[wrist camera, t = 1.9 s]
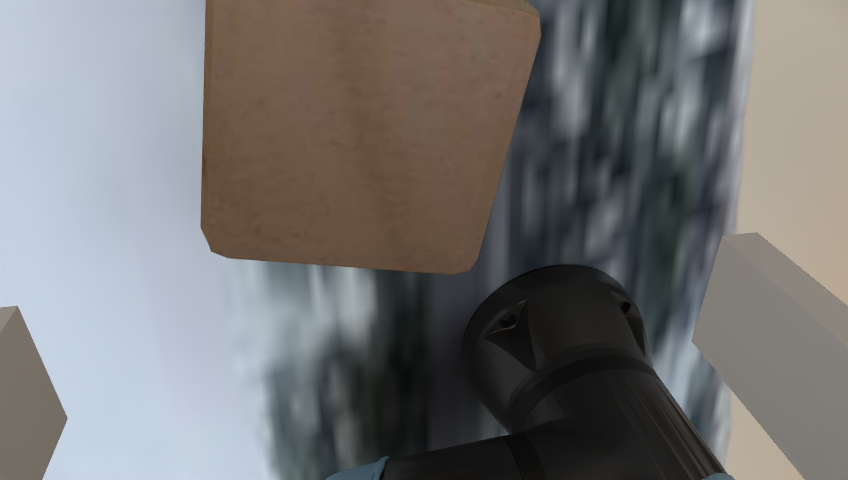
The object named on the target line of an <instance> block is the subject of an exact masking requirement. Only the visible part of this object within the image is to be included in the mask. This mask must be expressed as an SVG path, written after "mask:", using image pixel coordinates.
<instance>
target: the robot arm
mask: <svg viewBox="0 0 848 480" xmlns="http://www.w3.org/2000/svg"><path fill="white" fill-rule="evenodd" d="M692 342H693V343H694V344H695V346H696V347H697V348H698V349H699V351H700V352H701V353H702V354H703V356H704V357H705V358H706V359H707V360H708V362H709V363H710V364H711V365H712V367H713V368H714V369H715V370H716V371H717V373H718V374H719V375H720V376H721V378H722V379H723V380H724V381H725V382H726V384H727V385H728V386H729V387H730V389H731V390H732V391H733V392H734V393H735V395H736V396H737V397H738V398H739V400H740V401H741V402H742V403H743V404H744V406H745V407H746V408H747V409H748V411H749V412H750V413H751V414H752V415H753V417H754V418H755V419H756V420H757V422H758V423H759V424H760V425H761V426H762V428H763V429H764V430H765V431H766V433H767V434H768V435H769V436H770V437H771V439H772V440H773V441H774V442H775V444H776V445H777V446H778V447H779V449H780V450H781V451H782V452H783V453H784V455H785V456H786V457H787V458H788V460H789V461H790V462H791V463H792V464H793V466H794V467H795V468H796V469H797V471H798V472H799V473H800V474H801V475H802V477H803V478H804V479H805V480H848V306H847V305H846V304H845V303H843V302H842V301H841V300H840V299H838V298H837V297H836V296H835V295H833V294H832V293H831V292H830V291H828V290H827V289H826V288H825V287H823V286H822V285H821V284H820V283H819V282H817V281H816V280H815V279H814V278H812V277H811V276H810V275H809V274H807V273H806V272H805V271H804V270H802V269H801V268H800V267H799V266H798V265H796V264H795V263H794V262H793V261H791V260H790V259H789V258H788V257H787V256H785V255H784V254H783V253H782V252H780V251H779V250H778V249H777V248H775V247H774V246H773V245H772V244H771V243H769V242H768V241H767V240H766V239H764V238H763V237H762V236H761V235H759V234H758V233H747V234H737V235H727V236H722V239H721V242H720V246H719V249H718V252H717V256H716V259H715V263H714V266H713V269H712V273H711V276H710V280H709V283H708V286H707V290H706V293H705V296H704V300H703V303H702V307H701V310H700V313H699V317H698V320H697V324H696V327H695V330H694V334H693V337H692ZM462 359H463V364H464V367H465V370H466V373H467V376H468V379H469V383H470V385H471V387H472V389H473V391H474V393H475V395H476V396H477V398H478V399H479V400H480V401H481V402H482V403H483V405H484V406H485V407H486V408H487V409H488V410H489V412H490V413H491V414H492V415H493V416H494V417H495V418H496V420H497V421H498V422H499V423H500V424H501V425H502V426H503V427H504V429H505V430H506V431H507V432H508V433H509V434H510V435H506V436H499V437H494V438H490V439H485V440H481V441H476V442H471V443H467V444H462V445H458V446H453V447H449V448H444V449H439V450H435V451H430V452H426V453H421V454H416V455H411V456H406V457H401V458H396V459H391V460H390V457H389V456H387V457H383V458H381V459H380V460H379V461H378V462H375V463H371V464H367V465H364V466H360V467H356V468H352V469H349V470H345V471H341V472H338V473H336V474H333V475H331V476H330V477H328V478H327V479H326V480H735V479H734V478H733V477H732V476H731V475H728V474H727V472H726V471H725V469H724V468H723V467H722V465H721V464H720V462H719V461H718V460H717V458H716V457H715V455H714V454H713V453H712V451H711V450H710V448H709V447H708V446H707V444H706V443H705V441H704V440H703V439H702V437H701V436H700V434H699V433H698V431H697V430H696V429H695V427H694V426H693V424H692V423H691V422H690V420H689V419H688V417H687V416H686V415H685V413H684V412H683V410H682V409H681V408H680V406H679V405H678V403H677V402H676V400H675V399H674V398H673V396H672V395H671V393H670V392H669V391H668V389H667V388H666V387H665V385H664V384H663V382H662V381H661V380H660V378H659V377H658V375H657V374H656V372H655V371H654V368H653V363H652V359H651V355H650V350H649V346H648V342H647V337H646V333H645V329H644V324H643V320H642V317H641V315H640V312H639V310H638V308H637V306H636V305H635V303H634V302H633V301H632V299H631V298H630V297H629V295H628V294H627V293H626V291H625V290H624V289H623V287H622V286H621V285H620V284H619V283H618V282H617V281H616V280H614V279H613V278H612V277H610V276H609V275H607V274H605V273H603V272H601V271H598V270H595V269H592V268H588V267H582V266H555V267H549V268H544V269H540V270H537V271H534V272H531V273H528V274H525V275H523V276H521V277H519V278H517V279H515V280H513V281H511V282H509V283H508V284H506V285H505V286H503V287H502V288H500V289H499V290H498V291H496V292H495V293H494V294H493V295H491V296H490V297H489V298H488V299H487V300H486V301H485V302H484V303H483V304H482V306H481V307H480V308H479V309H478V310H477V312H476V313H475V315H474V316H473V318H472V319H471V321H470V323H469V325H468V327H467V330H466V332H465V335H464V339H463V345H462ZM67 419H68V418H67V416H66V414H65V411H64V409H63V407H62V405H61V402H60V400H59V398H58V396H57V393H56V391H55V389H54V387H53V384H52V382H51V380H50V378H49V375H48V373H47V371H46V369H45V366H44V364H43V362H42V360H41V357H40V355H39V353H38V351H37V348H36V346H35V344H34V342H33V339H32V337H31V335H30V333H29V330H28V328H27V326H26V324H25V321H24V319H23V317H22V315H21V312H20V310H19V308H18V306H12V307H2V308H0V480H42V479H43V476H44V474H45V471H46V469H47V467H48V464H49V462H50V460H51V457H52V455H53V452H54V450H55V448H56V445H57V443H58V440H59V438H60V436H61V433H62V431H63V429H64V426H65V424H66V421H67Z"/></svg>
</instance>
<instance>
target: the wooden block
mask: <svg viewBox="0 0 848 480" xmlns="http://www.w3.org/2000/svg"><path fill="white" fill-rule="evenodd" d="M540 38H541V31H540V16H539V11H538V10H537V9H535V8H534V7H533V6H531V5H530V4H529V3H527V2H526V1H525V0H206V14H205V58H204V102H203V145H202V189H201V229H202V231H203V233H204V235H205V238H206V240H207V242H208V244H209V246H210V249H211V252H214V253H216V254H219V255H222V256H224V257H227V258H233V259H247V260H260V261H274V262H288V263H302V264H315V265H329V266H343V267H357V268H370V269H384V270H398V271H412V272H425V273H439V274H453V275H455V274H459V273H463V272H467V271H469V270H470V269H471V268H472V266H473V265H474V263H475V262H476V261H477V258H478V255H479V251H480V248H481V244H482V241H483V237H484V234H485V230H486V227H487V223H488V220H489V216H490V213H491V209H492V206H493V202H494V199H495V195H496V192H497V188H498V185H499V181H500V178H501V174H502V171H503V167H504V164H505V160H506V157H507V153H508V150H509V146H510V143H511V139H512V136H513V132H514V129H515V125H516V122H517V118H518V115H519V111H520V108H521V104H522V101H523V97H524V94H525V90H526V87H527V83H528V80H529V76H530V73H531V69H532V66H533V62H534V59H535V55H536V52H537V48H538V45H539V41H540Z"/></svg>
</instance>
